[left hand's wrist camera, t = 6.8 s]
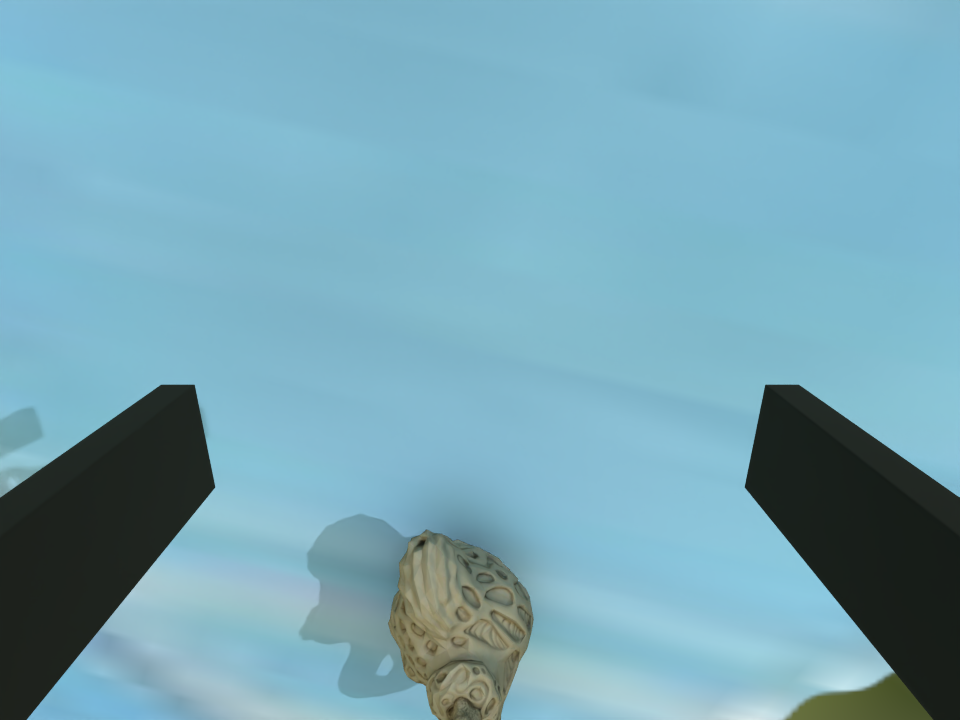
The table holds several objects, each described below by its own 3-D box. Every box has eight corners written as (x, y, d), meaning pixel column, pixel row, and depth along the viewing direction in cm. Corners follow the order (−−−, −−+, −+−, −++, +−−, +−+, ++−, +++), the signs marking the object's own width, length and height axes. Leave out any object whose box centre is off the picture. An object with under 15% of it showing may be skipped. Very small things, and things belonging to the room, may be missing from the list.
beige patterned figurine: (370, 494, 46) (322, 642, 32) (502, 468, 45) (512, 608, 31) (434, 672, 53) (417, 857, 39) (548, 653, 52) (574, 835, 38)
